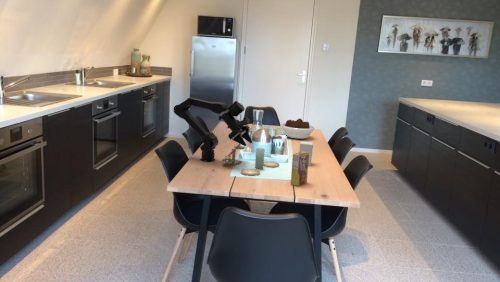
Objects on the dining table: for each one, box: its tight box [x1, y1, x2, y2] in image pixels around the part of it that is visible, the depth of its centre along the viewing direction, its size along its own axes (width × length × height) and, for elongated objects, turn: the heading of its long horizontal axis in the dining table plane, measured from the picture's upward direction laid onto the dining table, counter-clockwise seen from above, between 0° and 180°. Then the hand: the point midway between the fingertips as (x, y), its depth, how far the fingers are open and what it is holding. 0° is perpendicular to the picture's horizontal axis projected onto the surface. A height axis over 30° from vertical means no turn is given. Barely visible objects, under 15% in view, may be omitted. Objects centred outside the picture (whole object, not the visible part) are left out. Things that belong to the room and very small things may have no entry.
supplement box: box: [298, 140, 314, 167], centre depth 242 cm, size 7×7×13 cm
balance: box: [221, 143, 246, 167], centre depth 232 cm, size 6×19×10 cm, turn 154°
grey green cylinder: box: [254, 147, 266, 170], centre depth 225 cm, size 4×4×11 cm
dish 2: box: [263, 160, 280, 168], centre depth 235 cm, size 10×10×1 cm
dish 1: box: [240, 168, 261, 177], centre depth 216 cm, size 10×10×1 cm
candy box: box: [290, 152, 309, 187], centre depth 203 cm, size 9×4×15 cm, turn 140°
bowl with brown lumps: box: [281, 118, 315, 140], centre depth 319 cm, size 25×25×15 cm
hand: (248, 144), depth 226 cm, fingers open, 9 cm apart
